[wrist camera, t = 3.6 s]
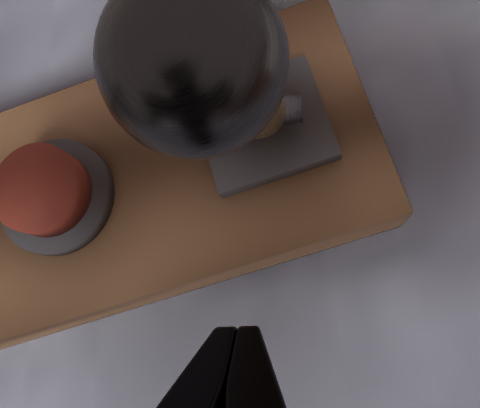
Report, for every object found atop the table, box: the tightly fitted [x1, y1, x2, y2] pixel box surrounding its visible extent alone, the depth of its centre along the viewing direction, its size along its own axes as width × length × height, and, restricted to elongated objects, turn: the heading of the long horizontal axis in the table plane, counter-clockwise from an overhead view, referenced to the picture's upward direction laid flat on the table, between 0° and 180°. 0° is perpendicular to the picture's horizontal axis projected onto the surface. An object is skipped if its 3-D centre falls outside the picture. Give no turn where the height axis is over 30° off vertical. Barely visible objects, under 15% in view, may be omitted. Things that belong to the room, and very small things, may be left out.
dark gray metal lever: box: [93, 0, 303, 160], centre depth 11 cm, size 3×3×11 cm
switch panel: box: [0, 0, 413, 349], centre depth 18 cm, size 9×24×4 cm, turn 106°
